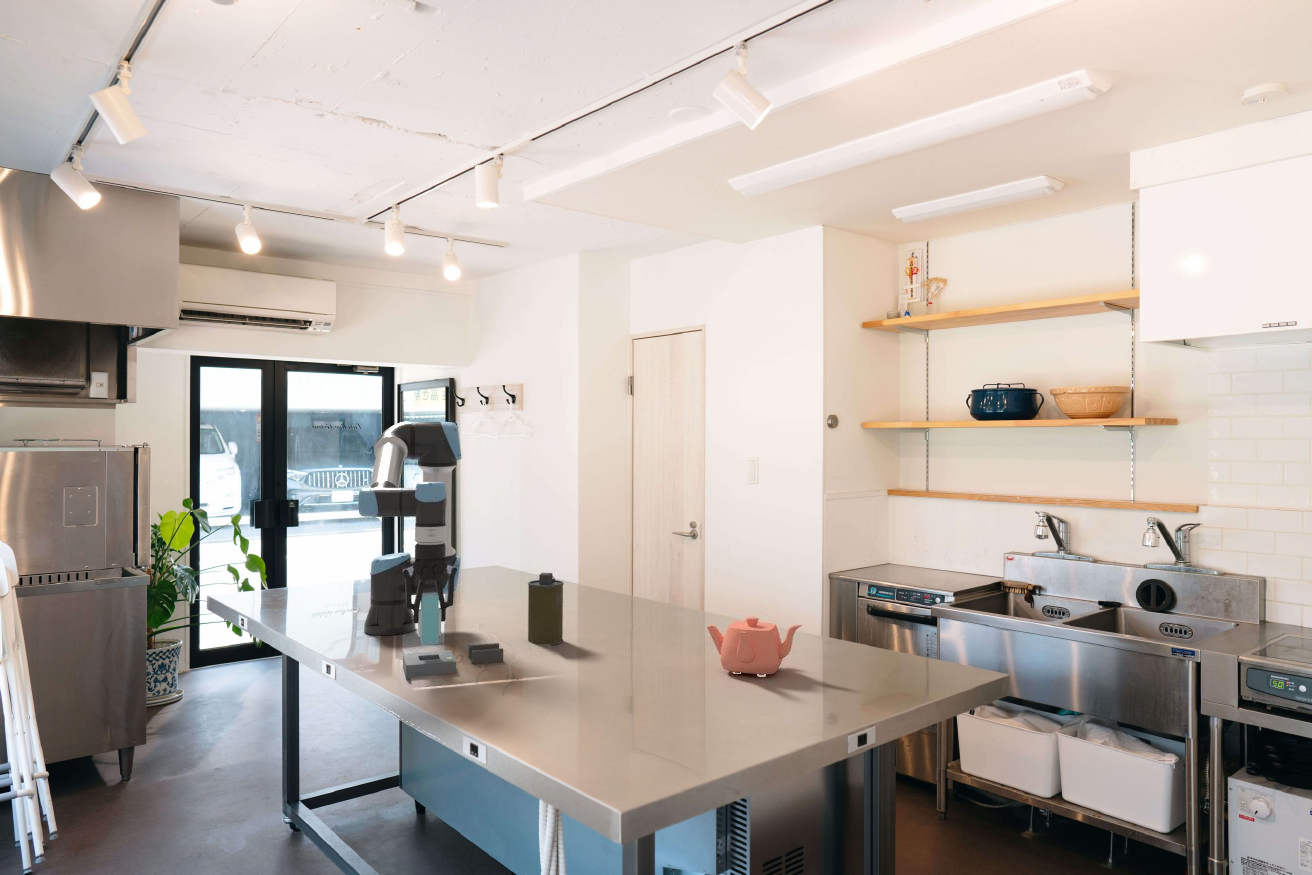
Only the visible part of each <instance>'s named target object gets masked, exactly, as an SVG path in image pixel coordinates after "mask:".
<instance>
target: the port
mask: <svg viewBox="0 0 1312 875" xmlns="http://www.w3.org/2000/svg"><path fill="white" fill-rule="evenodd" d="M402 670H403V674H404V679H405V680H406V681H408V680H412V679H411V678H413V677H415V678H417V677H426V676H428V677H430V676H439V675H453V674H457V660H456V658H455V656H454V654H453V652H452V650H451V649H450V650H449V649H448V650H437V651H436V650H434V651H423V652H410V653H402Z"/></svg>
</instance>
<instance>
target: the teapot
mask: <svg viewBox="0 0 1312 875" xmlns="http://www.w3.org/2000/svg"><path fill="white" fill-rule="evenodd" d="M759 620H760V619H759V617H756V616H747V617H745V620H736V621H733V622H731V623H730V624H729V625H728V626H727V628H726V631H725V634H724V636H723V634H722V633H721V632H720V630H719V629H718V628H717V627H716V625H708V626H707V627H706V628H707V630H708V632H709V634H710V638H711V639H712V641H713V643H714V646H715V648H716V650H717V651H718V654H719V656H720V657H719V658H720V663H721V666H722V668H723V670H725V671H728V672H731V673H732V672H735V673H740V672H741V673H742V674H752V675H754V674H755V675H756V674H759V675H764V674H766V675H772V674H774V673H776V672H777V671H778V670H779V668H780V666H781V665H782V662H783V659H784V658H786V657H787V656H789V653H790V652H791V649H792V645H793V640H794V635H795V632H797V630H798V629H799V628H801V627H802V626H803V624H794V625H792V626H791V625H790V627H789V628H788V629H787V630H786V636H785V639H784V641H783V642H782V640H781V636H780V633H779V629H778V626H777V624H776V623H771V622H763V621H759Z"/></svg>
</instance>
